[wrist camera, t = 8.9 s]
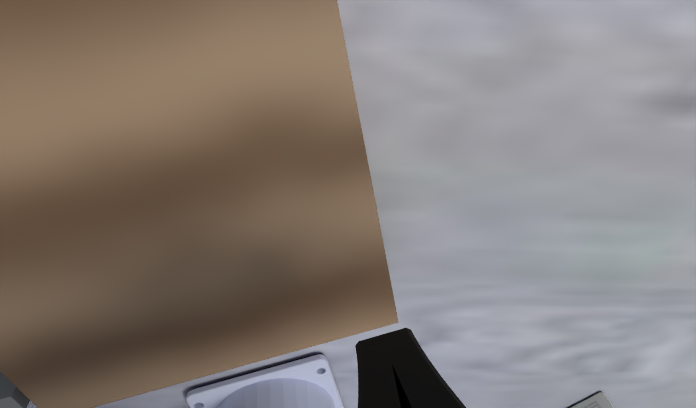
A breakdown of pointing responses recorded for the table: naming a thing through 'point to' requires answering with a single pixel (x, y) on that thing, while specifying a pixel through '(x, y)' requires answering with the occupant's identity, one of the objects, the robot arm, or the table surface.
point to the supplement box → (595, 402)
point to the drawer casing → (178, 193)
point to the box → (11, 394)
